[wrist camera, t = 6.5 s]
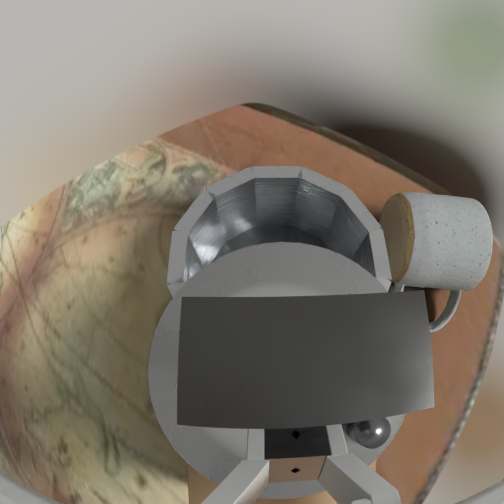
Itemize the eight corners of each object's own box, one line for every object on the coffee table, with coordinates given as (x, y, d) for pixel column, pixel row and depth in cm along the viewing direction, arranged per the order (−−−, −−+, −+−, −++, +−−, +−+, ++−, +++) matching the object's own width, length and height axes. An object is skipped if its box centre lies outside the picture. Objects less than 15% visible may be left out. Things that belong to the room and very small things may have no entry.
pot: (190, 372, 21) (160, 368, 15) (199, 220, 26) (181, 169, 20) (362, 368, 21) (400, 361, 14) (346, 218, 26) (367, 168, 20)
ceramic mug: (369, 218, 26) (398, 166, 19) (441, 226, 26) (481, 182, 18) (375, 336, 22) (421, 316, 15) (455, 333, 21) (511, 312, 14)
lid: (153, 484, 12) (64, 550, 4) (163, 249, 17) (98, 145, 9) (407, 474, 11) (508, 519, 3) (392, 247, 17) (466, 149, 9)
